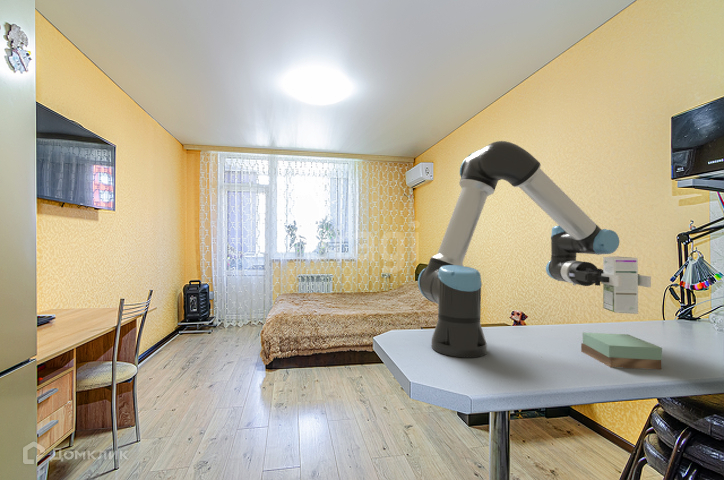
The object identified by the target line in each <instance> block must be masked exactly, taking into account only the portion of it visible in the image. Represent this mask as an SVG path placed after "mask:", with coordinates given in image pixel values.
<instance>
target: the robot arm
mask: <svg viewBox="0 0 724 480" xmlns="http://www.w3.org/2000/svg"><path fill="white" fill-rule="evenodd" d="M541 164H542V163H541V162H540V161H539V160H538V159H536V158H535V157H534V156H533V155H532V154H531V153H530V152H529V151H527V150H526V149H524V148H523V147H521V146H519V145H517V144H515V143H512V142H510V141H506V140H497V141H493V142H491V143H489V144H488V145H485V146H484V147H482V148H480V149H478V150H475V151H473V152H471V153H470V154H468V156H467V157H465V158H464V160H463V161H462V163H461V165H460V166H459V167H460V168H459V176H460V179H459V186H460V187H461V190H460V193H459V196H458V198H457V201H456V204H455V206H454V209H453V211H452V214H451V215H450V216H451V217H450V219H449V221H448V225H447V227H446V229H445V233H444V235H443V238H442V240H441V242H440V243H441V244H440V245H439V248H438V250H437V253H436V254H435V255H432V256H430V259H429V261H428V264H427V266H426V267H425V268H423V269H422V270H421V271H420V273H419V275H418V276H417V277H418V278H417V287H418V291H419V292H420V294H421V295H422V296H423V297H424V298H425V299H426V300H427V301H429V302H432V303H435V304H437V305H438V306H437V310H438V311H437V322H436V326H435V328H434V331H433V334H432V337H431V348H432V349H433V351H435V352H437V353H439V354H442V355H445V356H450V357H456V358H477V357H478V358H479V357H482V356H485V355H486V354H487V353H488V352H487V350H488V349H487V348H488V345H487V340H486V338H485V334H484V332H483V328H482V323H481V312H482V311H481V305H482V304H481V303H482V299H481V298H482V286H483V284H482V277H481V273H480V271H479V270H478V269H476V268H473V267H471V266H464V264H463V263H464V260H465V258H466V257H465V256H466V255H467V252H468V249H469V246H470V244H471V241H472V240H473V239H472V238H473V236H474V233H475V230H476V227H477V225H478V223H479V220H480V217H481V214H482V212H483V209H484V206H485V203H486V200H487V199H488V197H489V196H491V195H493V194H494V193H495V191H496V188H497V184H498V183H499V181H501V180H503V181H506V182H508V184H510V185H511V186H512V187H513V188H520V189H521V191H523V193H524V194H525V195H526V196H527V197H529V199H531V200H532V201H533V202H534V203H535V204H536V205H537V206H538V207H539V208H540V209H541V210H542V211H543V212H544V213H545V214H546V215H548V217H550V218H551V220H553V222H555V223H556V224H557V225H555V226H554V225H553V226H552V228H551V236H550V241H551V242H550V243H551V244H550V247H551V249H550V250H551V251H550V253H551V256H550V260H549V261H548V262H547V264H546V266H545V272H546V274H547V275H548V277H550V278H551V279H553V280H556V281H558V282H564V283H569V284H572V285H573V286H577V285H578V286H583V287H590V286H593V285H594V286H601V284H607V285H612V286H617V287H621V285H622V276H618V275H611V274H603V269H602V268H599V267H597V266H596V265H595V264H594V263H592V262H589V261H581V260H577V254H585V255H588V254H589V255H599V256H600V255H611V254H613V253H615V252H616V251H617V250H618V248H619V246H620V237H619V235H618V233H617V232H616V231H614V230H611V229H607V228H604V229H603V228H601V227H600V226H599V225H598V224H596V223H595V221H593V219H591V217H590V216H589V215H588V214H586V213H585V212H584V210H583V209H582V208H580V206H578V204H576V202H575V201H573V199H572V198H570V196H569V195H568V194H566V193H565V191H563V190H562V188H561V187H559V186H558V184H556V183H555V182H554V181H553V179H551V177H549V176H548V175H547V174H546V173H545V172H544V171H543V169H541ZM638 287H643V288H644V287H645V288H651V287H652V276H650V275H642V274H639V273H638Z"/></svg>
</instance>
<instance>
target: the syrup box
mask: <svg viewBox="0 0 724 480" xmlns="http://www.w3.org/2000/svg"><path fill="white" fill-rule="evenodd" d="M602 261H603V262H602V263H603V265H602V267H603V269H602V270H603V274H611V275H618V276H622V285H621V287H617V286H612V285H607V284H603V285H602V287H603V289H602V291H603V292H602V293H603V295H602V296H603V297H602V298H603V301H602V302H603V303H602V304H603V309H605V310H607V311H610V312H612V313H617V314H630V315H632V314H634V315H635V314H636V315H638V314H639V286H638V274H639V266H638V265H639V259H638V257H632V256H631V257H630V256H629V257H628V256H603V259H602Z"/></svg>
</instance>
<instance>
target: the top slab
mask: <svg viewBox="0 0 724 480" xmlns="http://www.w3.org/2000/svg"><path fill="white" fill-rule="evenodd" d="M582 343H583V344H585V345H587V346H589V347H591V348H593V349H595V350H596V351H598V352H600V353H602V354H604V355H605V356H607V357H609V358H610V357H611V358H630V359H650V360H661V361H663V347H660V346H658V345H656V344H654V343H651V342H648V341H646V340H643V339H641V338H638V337H635V336H633V335H630V334H627V333H626V334H625V333H623V334H621V333H605V332H604V333H598V332H582Z"/></svg>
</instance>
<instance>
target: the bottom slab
mask: <svg viewBox="0 0 724 480" xmlns="http://www.w3.org/2000/svg"><path fill="white" fill-rule="evenodd" d="M580 345H581V347H580V348H581V349H580V351H581V353H583V354H585V355H587V356H589V357H591V359H592V358H593V359H595V360H596V361H598V362H600V363H601V364H603V363H604V365H605V366H607V367H608V368H613V367H623V368H622V369H641V368H645V369H644V370H647V369H648V370H662V360H650V359H630V358H611V357H610V358H609V357H607V356H605V355H604V354H602V353H600V352H598V351H596V350H595V349H593V348H591V347H589V346H587V345H585V344H583V342H582V343H581V344H580Z"/></svg>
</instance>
